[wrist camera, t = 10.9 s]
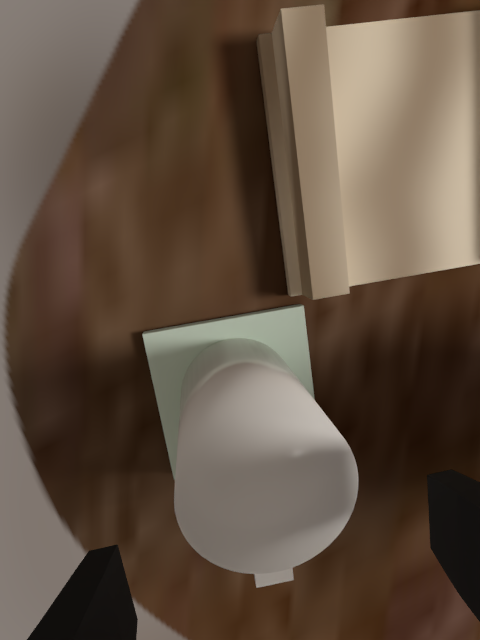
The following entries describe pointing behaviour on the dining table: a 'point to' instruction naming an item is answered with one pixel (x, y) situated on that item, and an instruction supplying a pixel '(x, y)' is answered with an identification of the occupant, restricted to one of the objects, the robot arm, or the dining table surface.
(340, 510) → the white domed cylinder
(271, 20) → the dining table surface
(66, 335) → the dining table surface
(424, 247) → the cradle
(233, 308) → the dining table surface
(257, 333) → the mat
